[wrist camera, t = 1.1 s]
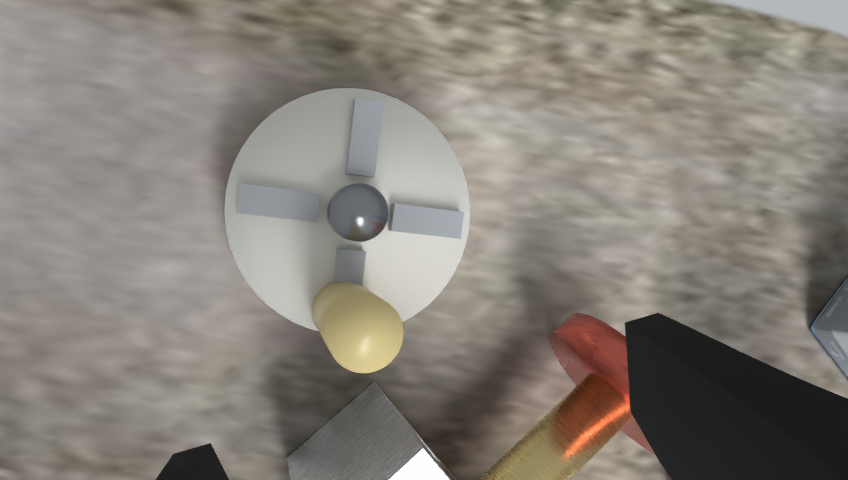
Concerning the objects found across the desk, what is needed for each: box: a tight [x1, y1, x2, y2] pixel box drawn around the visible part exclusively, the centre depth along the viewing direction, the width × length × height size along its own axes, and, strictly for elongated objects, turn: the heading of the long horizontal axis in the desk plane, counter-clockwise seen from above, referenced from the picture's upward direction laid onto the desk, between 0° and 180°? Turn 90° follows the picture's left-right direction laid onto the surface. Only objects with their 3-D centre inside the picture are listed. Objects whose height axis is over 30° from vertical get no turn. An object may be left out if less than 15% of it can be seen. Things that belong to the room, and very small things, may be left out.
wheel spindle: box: [327, 183, 389, 242], centre depth 18 cm, size 2×2×1 cm
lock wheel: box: [224, 88, 470, 373], centre depth 18 cm, size 8×8×6 cm
